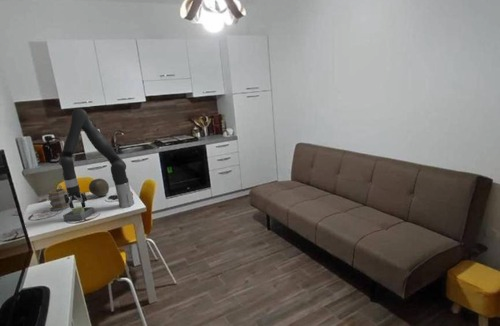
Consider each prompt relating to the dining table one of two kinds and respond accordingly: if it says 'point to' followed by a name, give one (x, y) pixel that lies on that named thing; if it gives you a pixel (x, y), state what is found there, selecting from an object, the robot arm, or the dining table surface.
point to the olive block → (78, 210)
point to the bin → (71, 217)
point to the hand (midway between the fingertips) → (78, 207)
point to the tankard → (58, 199)
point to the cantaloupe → (99, 187)
